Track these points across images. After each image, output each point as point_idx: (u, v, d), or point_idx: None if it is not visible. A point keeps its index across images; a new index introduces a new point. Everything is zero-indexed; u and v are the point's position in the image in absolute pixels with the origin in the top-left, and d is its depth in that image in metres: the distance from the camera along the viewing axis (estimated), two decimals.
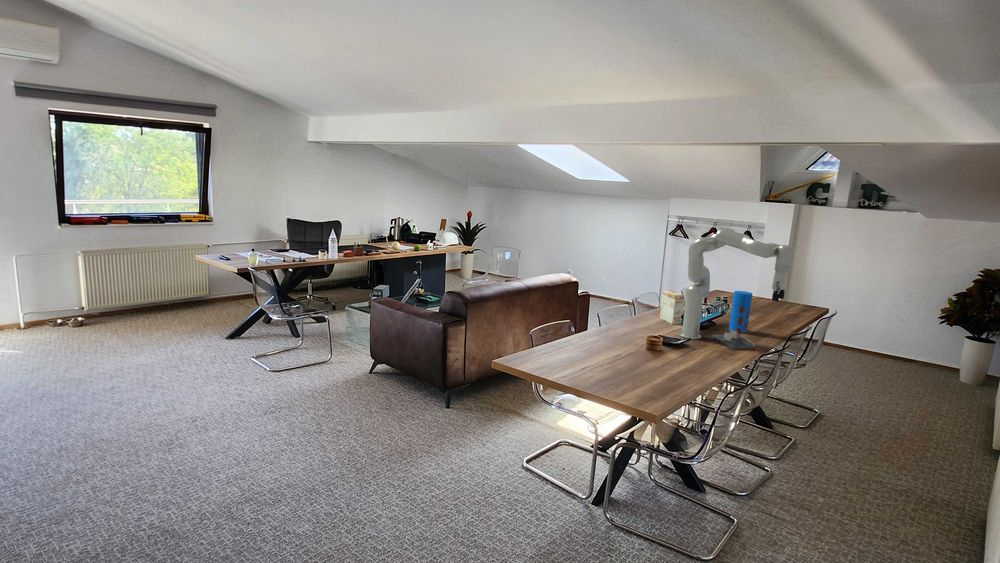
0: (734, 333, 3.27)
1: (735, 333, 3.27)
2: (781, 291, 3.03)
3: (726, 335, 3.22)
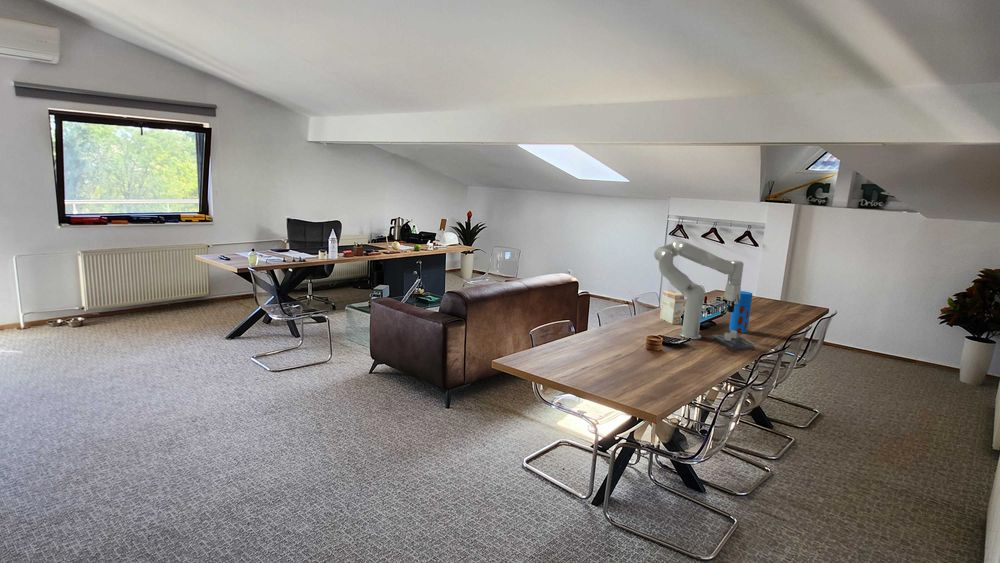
0: (734, 333, 3.27)
1: (735, 333, 3.27)
2: None
3: (726, 335, 3.22)
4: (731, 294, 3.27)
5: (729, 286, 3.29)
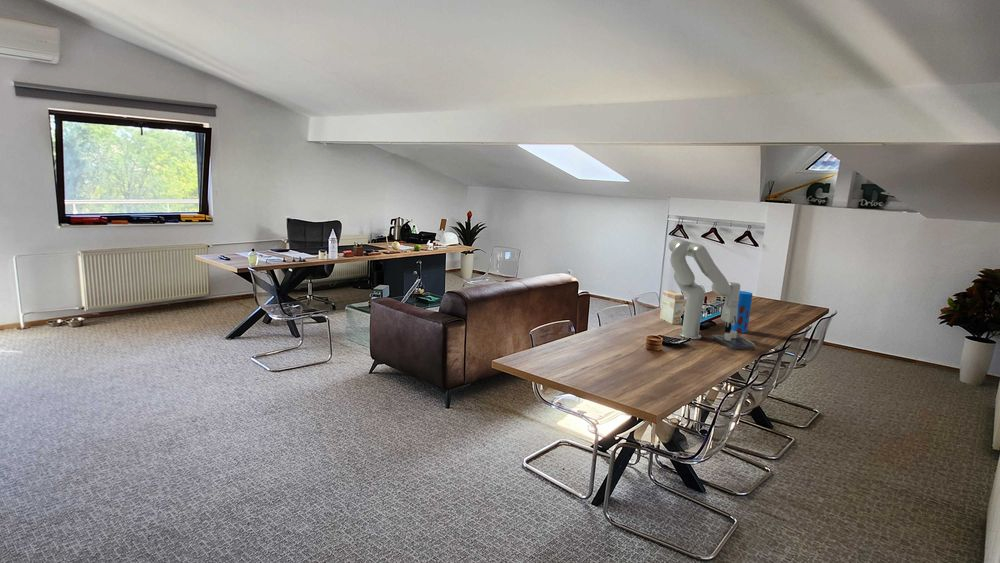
0: (734, 333, 3.27)
1: (735, 333, 3.27)
2: None
3: (726, 335, 3.22)
4: (728, 316, 3.29)
5: (726, 308, 3.31)
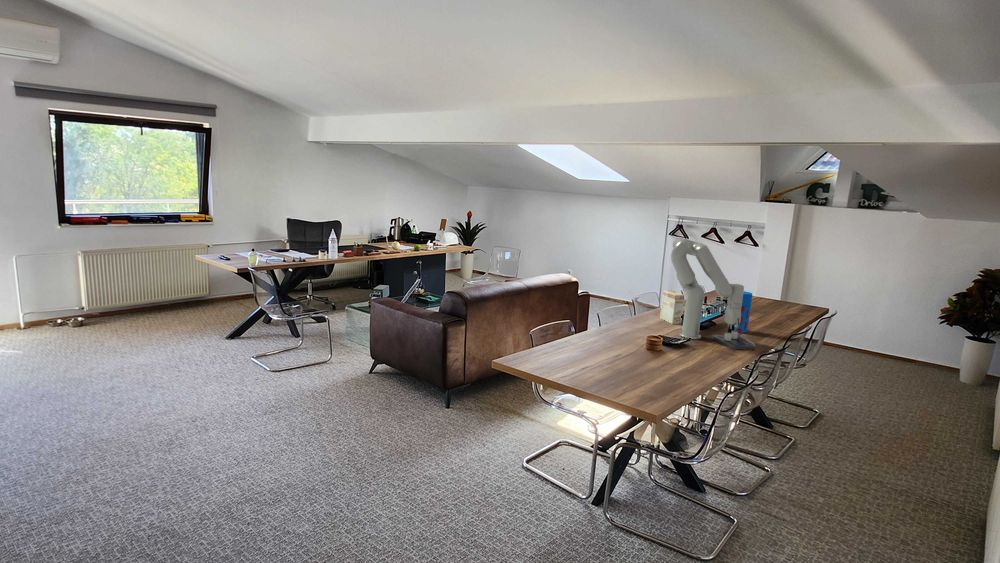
0: (735, 333, 3.26)
1: (736, 333, 3.26)
2: None
3: (726, 335, 3.22)
4: (731, 318, 3.26)
5: (729, 310, 3.28)
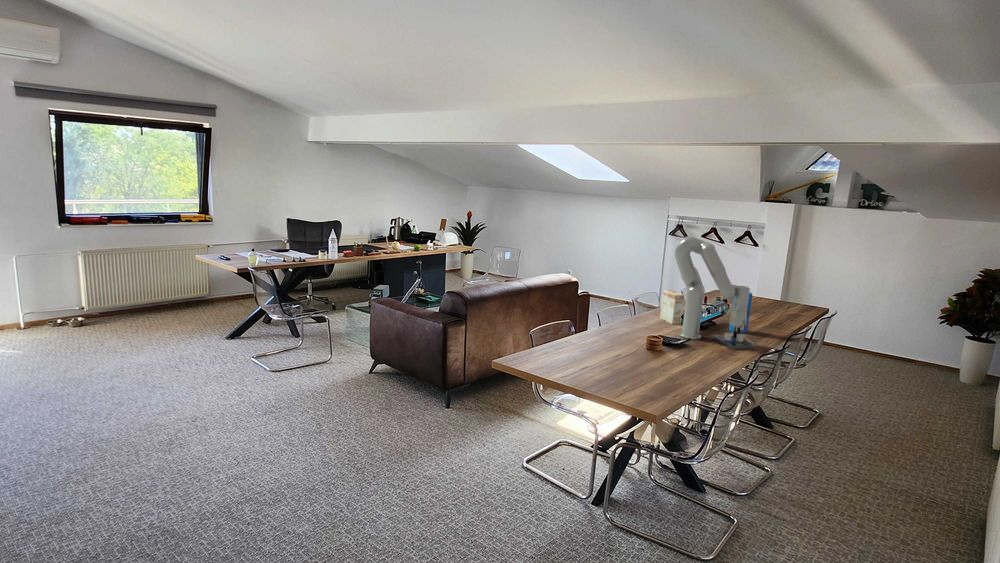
0: (741, 336, 3.20)
1: (742, 336, 3.20)
2: None
3: (726, 335, 3.22)
4: (737, 320, 3.20)
5: (735, 312, 3.22)
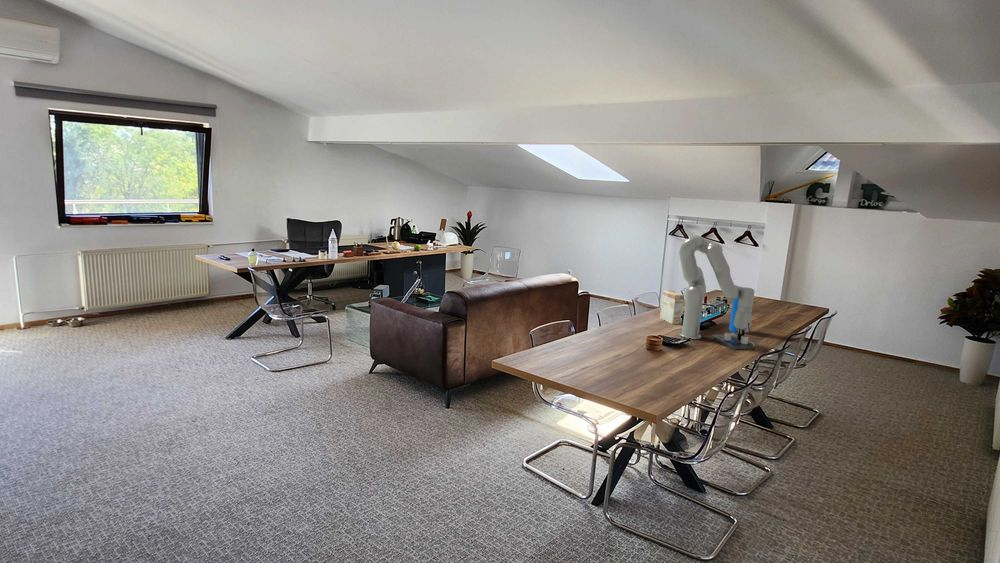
0: (745, 339, 3.15)
1: (746, 339, 3.16)
2: None
3: (726, 335, 3.22)
4: (741, 322, 3.16)
5: (739, 314, 3.18)
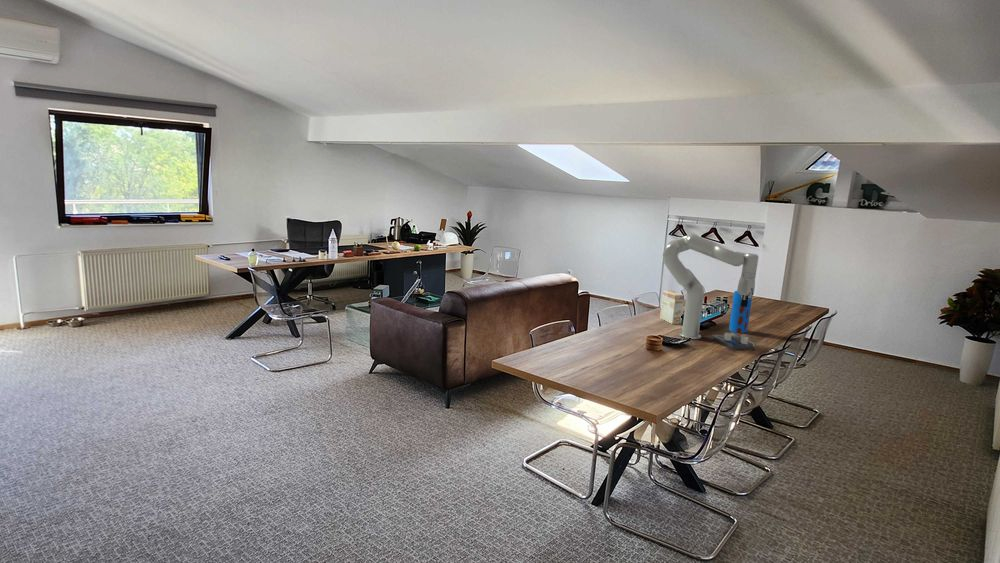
0: (745, 339, 3.15)
1: (746, 339, 3.16)
2: None
3: (726, 335, 3.22)
4: (745, 288, 3.16)
5: (743, 280, 3.19)
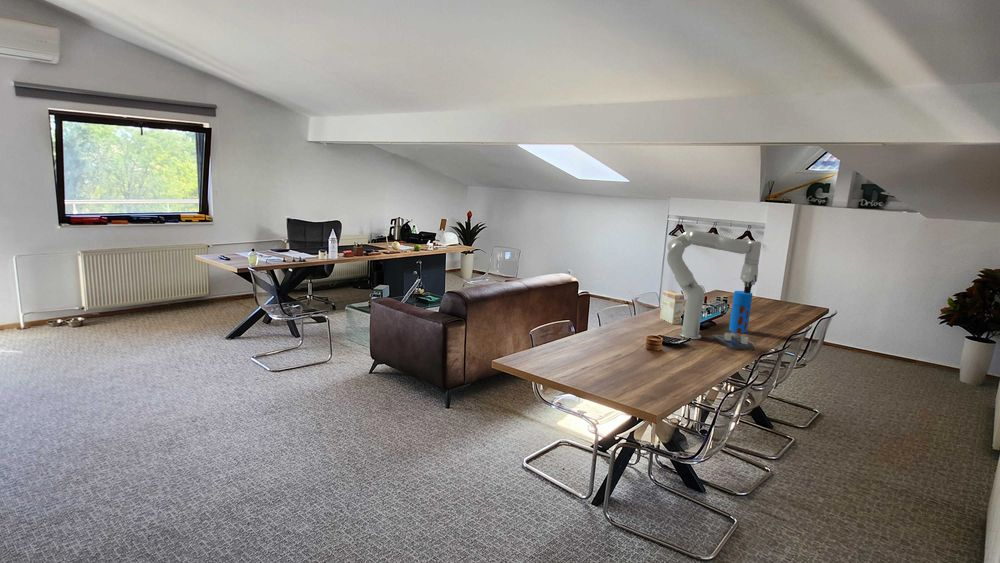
0: (745, 339, 3.15)
1: (746, 339, 3.16)
2: None
3: (726, 335, 3.22)
4: (748, 275, 3.20)
5: (746, 267, 3.23)
